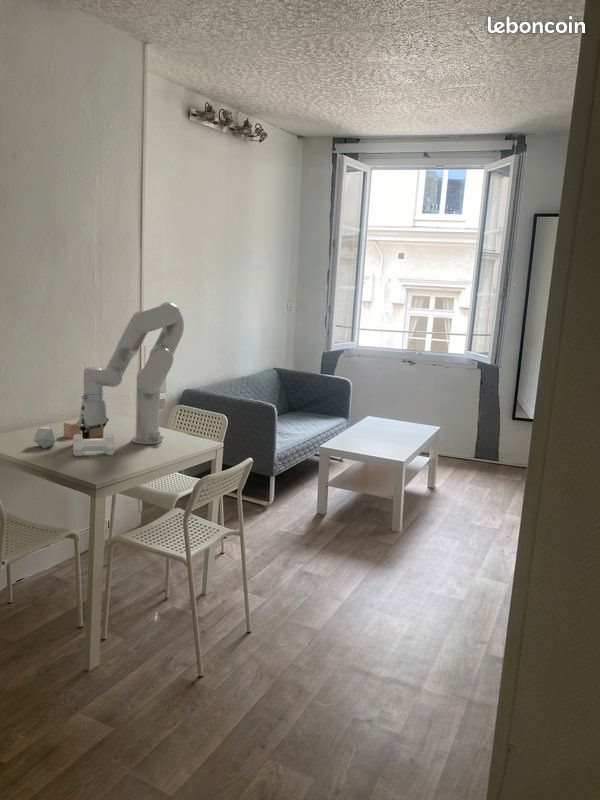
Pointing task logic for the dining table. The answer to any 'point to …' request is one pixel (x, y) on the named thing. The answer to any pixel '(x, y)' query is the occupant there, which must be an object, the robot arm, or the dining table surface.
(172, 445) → the dining table surface
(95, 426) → the block walnut
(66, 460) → the dining table surface
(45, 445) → the die
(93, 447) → the dog bone
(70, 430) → the block terracotta
